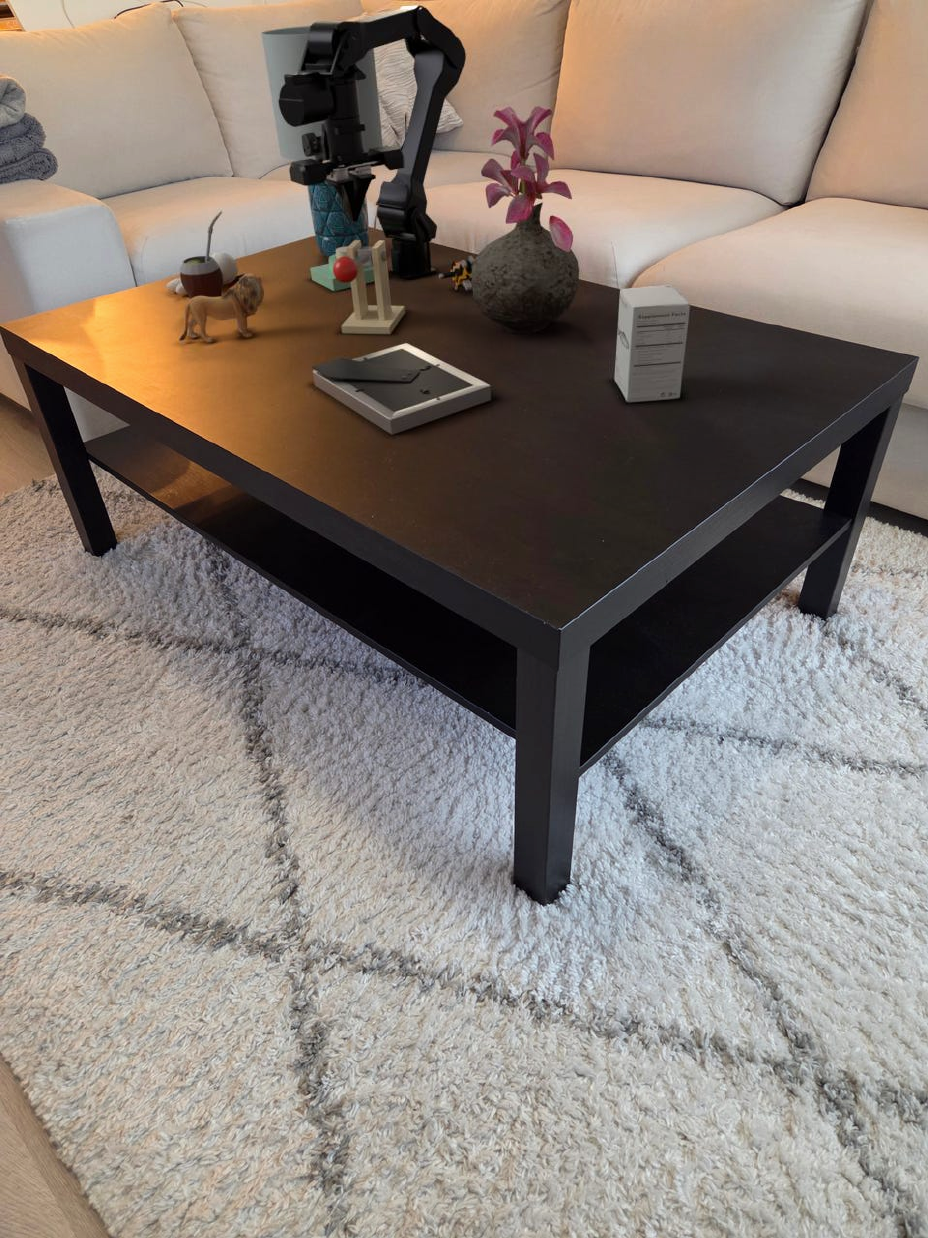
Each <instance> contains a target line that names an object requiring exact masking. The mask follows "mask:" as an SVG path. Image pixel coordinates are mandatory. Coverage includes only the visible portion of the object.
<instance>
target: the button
mask: <svg viewBox="0 0 928 1238" xmlns="http://www.w3.org/2000/svg"><path fill="white" fill-rule="evenodd" d="M347 247H348V246H346V247H340V248H337V249H336V257H337V259H338V258H340V257H347V250H346V248H347Z"/></svg>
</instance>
